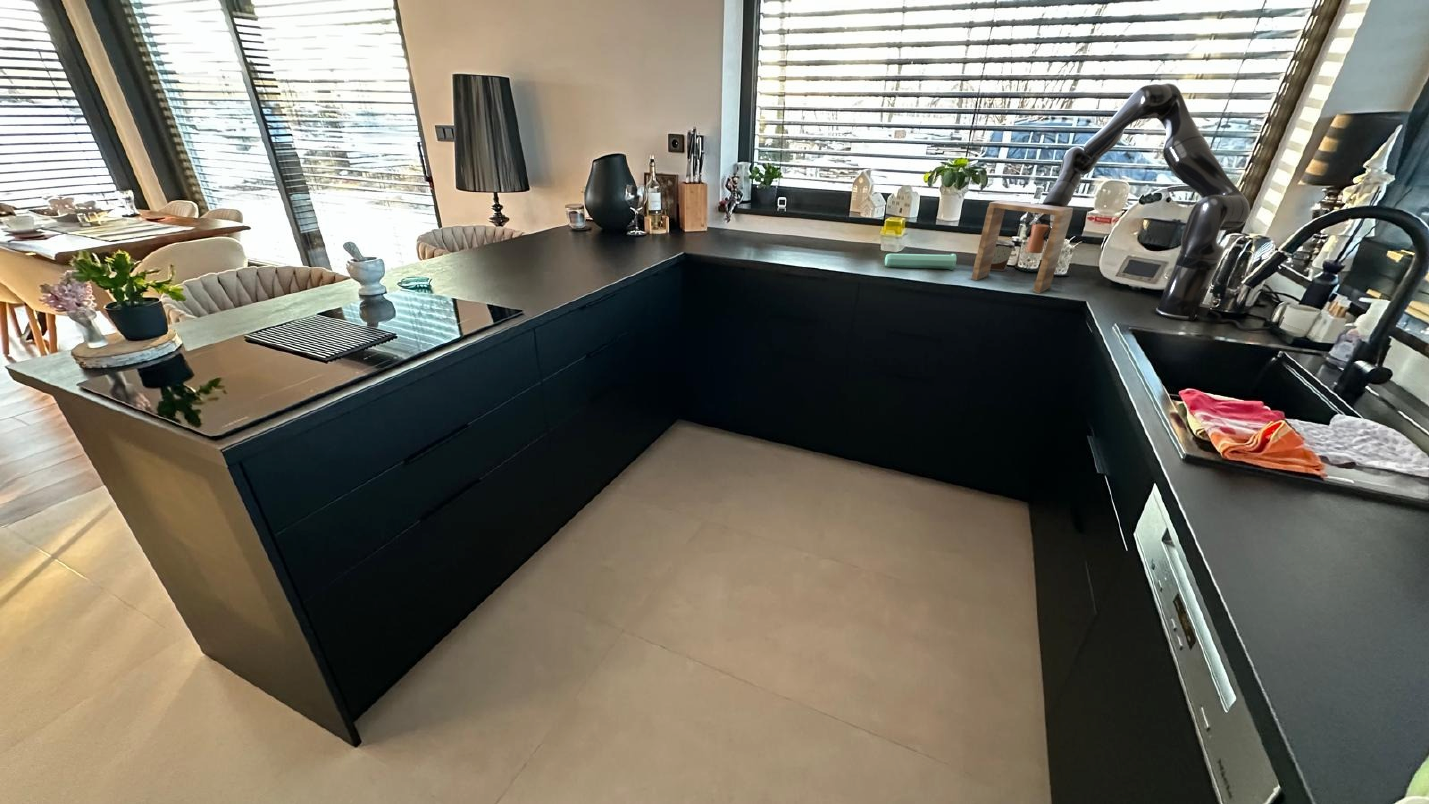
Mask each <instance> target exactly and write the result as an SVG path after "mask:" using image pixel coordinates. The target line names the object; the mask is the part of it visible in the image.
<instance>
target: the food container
mask: <svg viewBox="0 0 1429 804" xmlns="http://www.w3.org/2000/svg"><path fill="white" fill-rule="evenodd" d="M1015 249H1016V245H1015V242H1013V241H1009V240H1002V239H998V240H997V244H996V248H995V252H994V256H993V260H992V264H991V268H990V271H1003V272H1004V271H1006V269H1007V268H1006V267H1007V265H1008V263H1009V260H1010V257H1011V254H1012V252H1013V251H1014V250H1015Z"/></svg>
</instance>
